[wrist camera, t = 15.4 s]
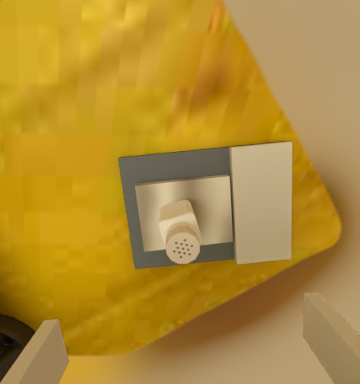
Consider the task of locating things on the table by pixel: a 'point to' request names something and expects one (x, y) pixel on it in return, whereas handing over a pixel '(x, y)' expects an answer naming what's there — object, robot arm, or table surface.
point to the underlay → (240, 199)
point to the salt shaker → (180, 232)
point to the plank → (200, 201)
